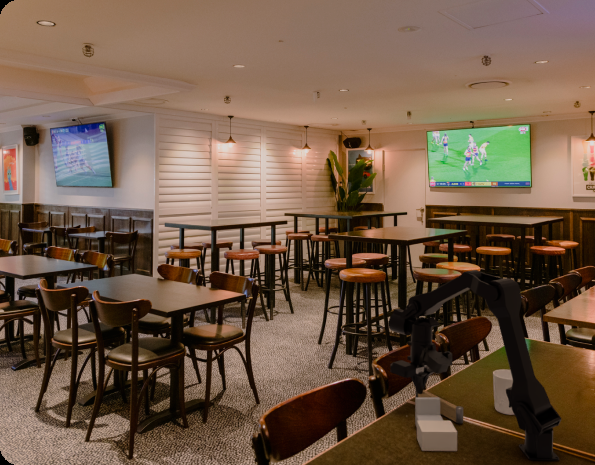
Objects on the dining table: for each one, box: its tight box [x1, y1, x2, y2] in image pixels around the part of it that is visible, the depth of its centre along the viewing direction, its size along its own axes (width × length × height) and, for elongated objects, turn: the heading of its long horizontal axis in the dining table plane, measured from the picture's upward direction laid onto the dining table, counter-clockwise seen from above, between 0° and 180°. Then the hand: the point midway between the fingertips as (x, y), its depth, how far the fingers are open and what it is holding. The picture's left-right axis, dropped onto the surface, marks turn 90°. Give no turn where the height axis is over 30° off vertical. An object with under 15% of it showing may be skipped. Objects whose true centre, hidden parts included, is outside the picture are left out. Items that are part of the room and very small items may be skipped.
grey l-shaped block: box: [414, 396, 444, 428], centre depth 127 cm, size 7×6×7 cm
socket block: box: [416, 420, 458, 452], centre depth 120 cm, size 6×8×4 cm
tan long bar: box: [415, 389, 464, 424], centre depth 138 cm, size 18×2×4 cm, turn 26°
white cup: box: [492, 368, 515, 416], centre depth 139 cm, size 8×8×10 cm
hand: (419, 393), depth 143 cm, fingers closed
